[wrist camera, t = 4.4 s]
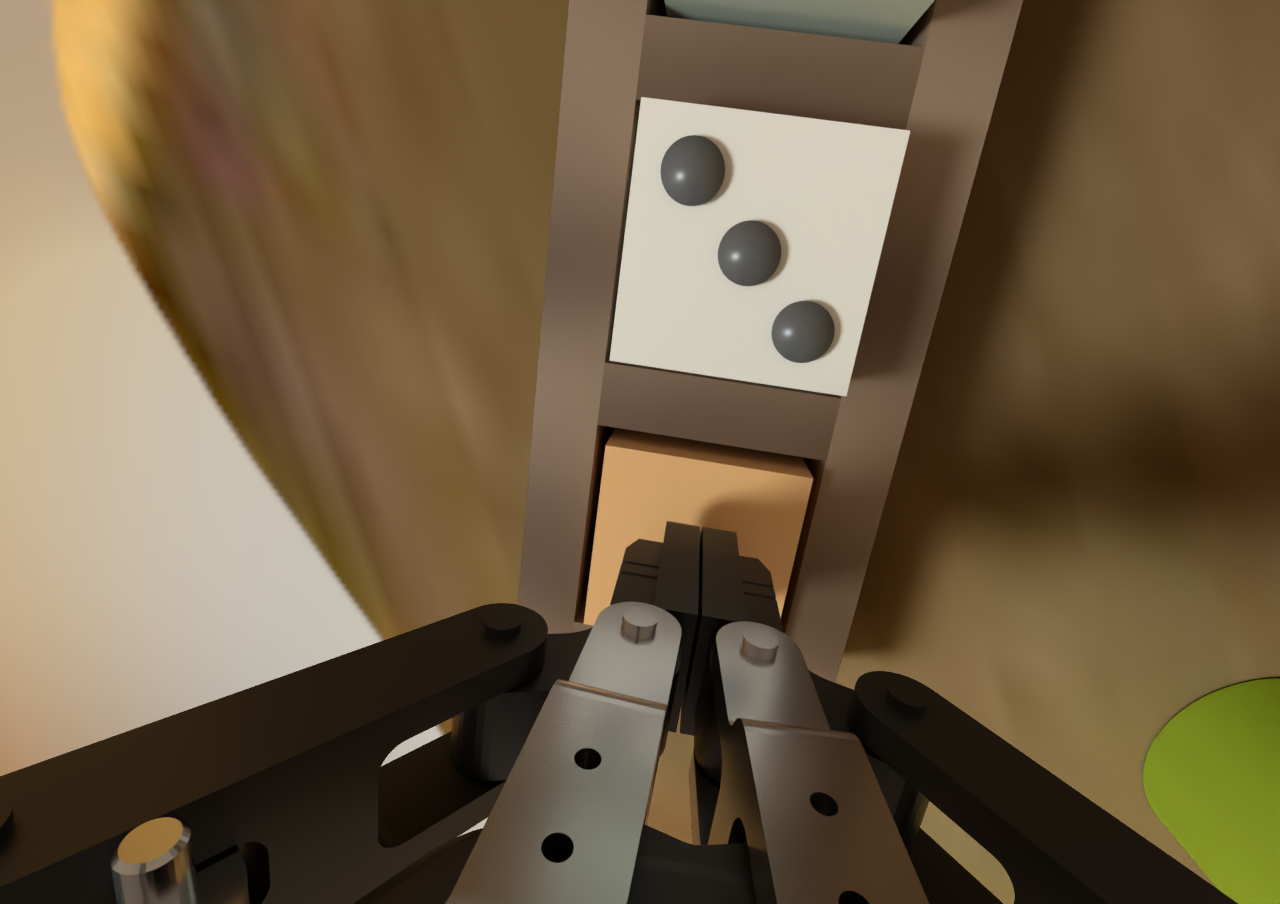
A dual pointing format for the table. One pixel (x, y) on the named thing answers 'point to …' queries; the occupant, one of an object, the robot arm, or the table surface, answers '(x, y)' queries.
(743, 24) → the two dot button
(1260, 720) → the soap dispenser
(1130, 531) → the table surface
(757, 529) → the one dot button
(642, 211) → the three dot button
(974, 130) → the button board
